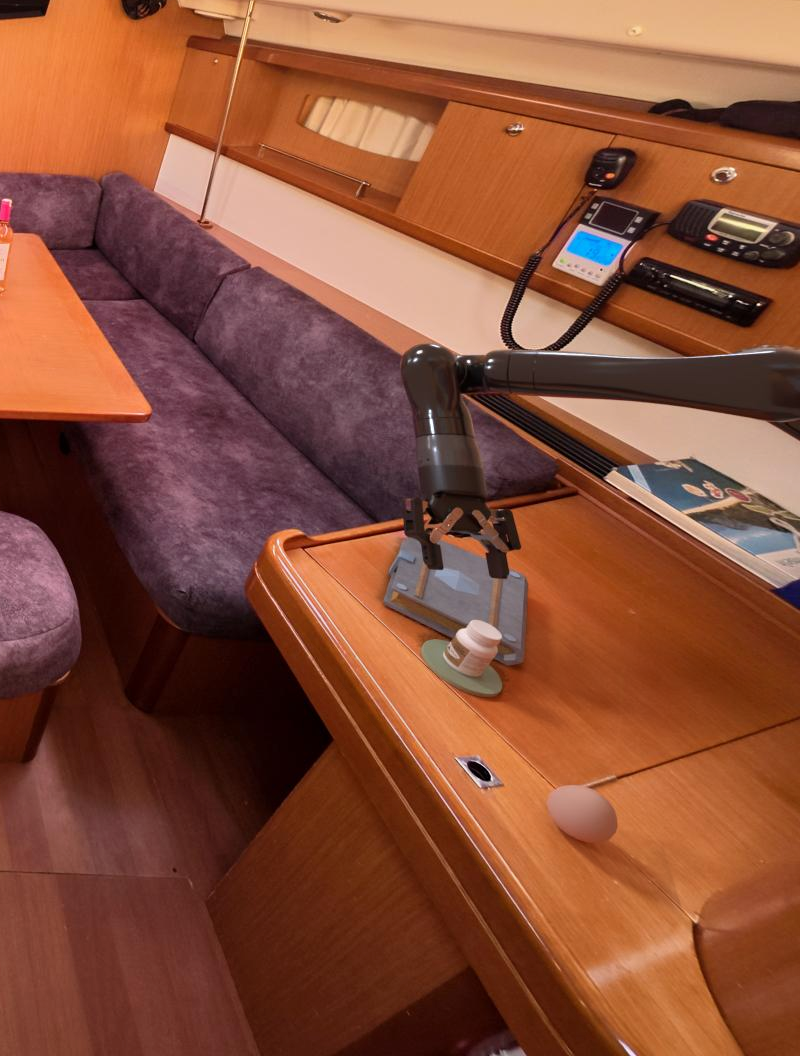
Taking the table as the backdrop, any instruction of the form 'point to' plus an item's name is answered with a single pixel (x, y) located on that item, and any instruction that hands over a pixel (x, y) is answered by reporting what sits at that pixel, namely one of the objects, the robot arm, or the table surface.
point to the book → (460, 595)
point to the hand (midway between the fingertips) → (467, 574)
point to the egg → (582, 813)
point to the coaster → (478, 686)
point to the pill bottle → (473, 648)
